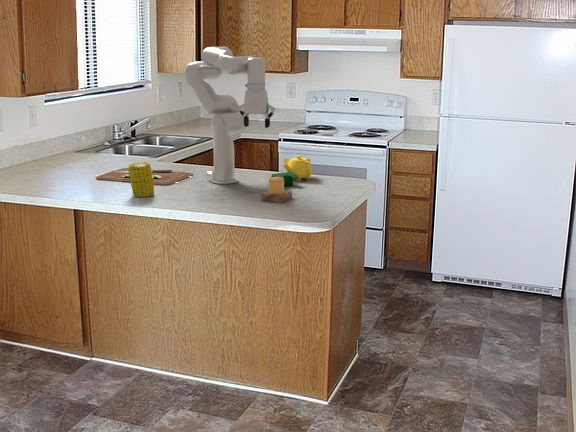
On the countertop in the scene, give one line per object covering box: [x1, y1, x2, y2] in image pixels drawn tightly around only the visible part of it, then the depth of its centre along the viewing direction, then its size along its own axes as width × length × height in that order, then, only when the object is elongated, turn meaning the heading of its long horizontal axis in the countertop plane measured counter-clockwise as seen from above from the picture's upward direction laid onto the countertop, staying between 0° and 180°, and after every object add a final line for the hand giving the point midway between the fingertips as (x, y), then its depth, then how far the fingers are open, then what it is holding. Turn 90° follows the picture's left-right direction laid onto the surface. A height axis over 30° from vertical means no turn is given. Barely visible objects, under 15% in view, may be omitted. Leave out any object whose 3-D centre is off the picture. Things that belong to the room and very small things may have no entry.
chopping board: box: [95, 167, 195, 187], centre depth 361 cm, size 45×27×3 cm, turn 69°
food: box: [128, 161, 155, 198], centre depth 323 cm, size 15×12×10 cm
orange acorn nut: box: [268, 177, 285, 194], centre depth 316 cm, size 6×6×6 cm
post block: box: [260, 189, 293, 204], centre depth 317 cm, size 10×10×8 cm
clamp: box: [270, 171, 298, 187], centre depth 342 cm, size 12×6×9 cm, turn 116°
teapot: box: [282, 155, 313, 182], centre depth 357 cm, size 14×14×11 cm
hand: (256, 126), depth 326 cm, fingers open, 9 cm apart
